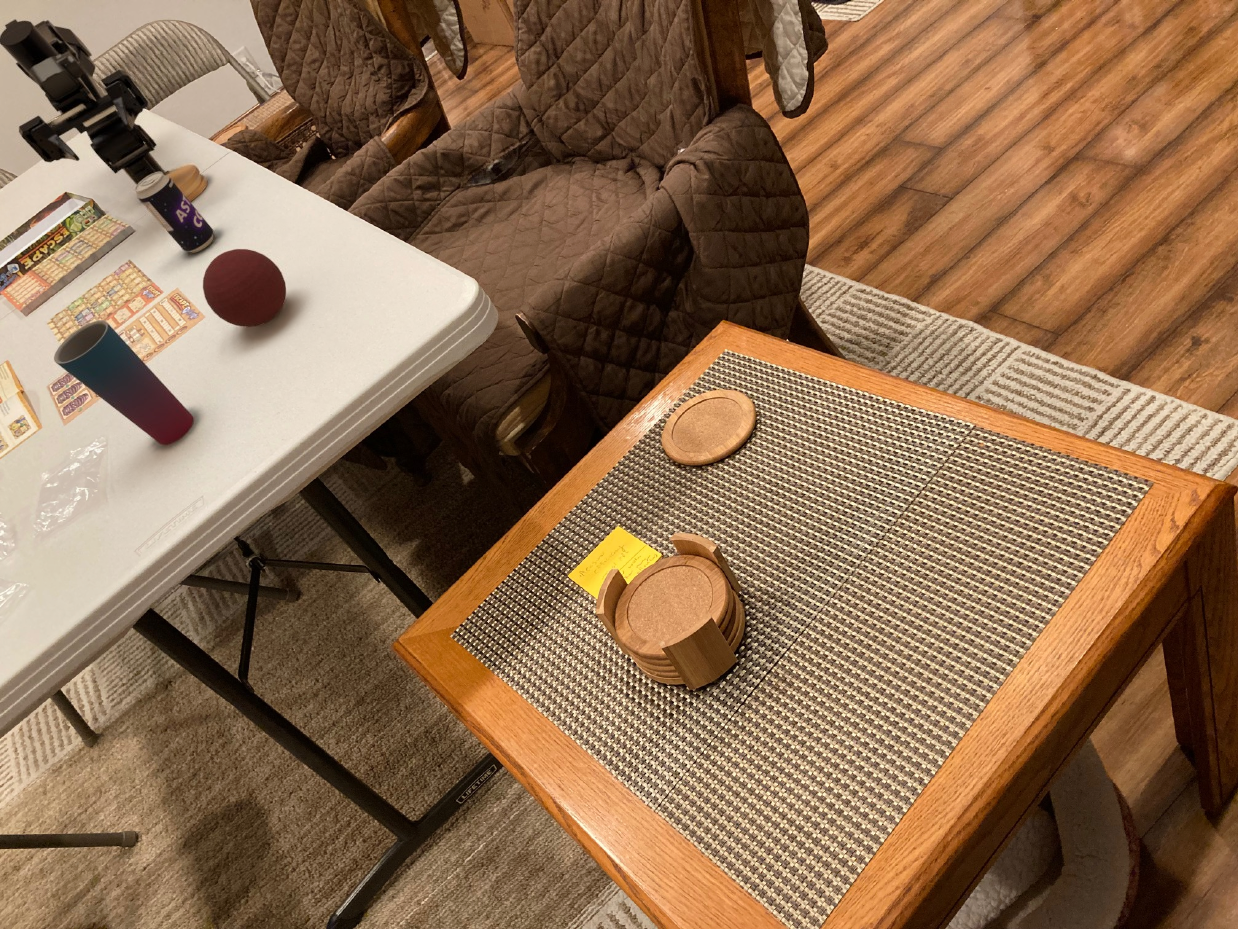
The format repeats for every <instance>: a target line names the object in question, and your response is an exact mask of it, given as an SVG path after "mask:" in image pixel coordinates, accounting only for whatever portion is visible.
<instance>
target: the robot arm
mask: <svg viewBox="0 0 1238 929" xmlns="http://www.w3.org/2000/svg"><path fill="white" fill-rule="evenodd" d="M4 27H5V28H4V30H3V31H2V32H1V34H0V45H1V46H2V47H3V48H4V50H6V52H7V53H8V54H9V55H10V56H11V57H12V58H13V59H14V60H15V61H16V63H15V65H16V66H17V67H18V68H19V69H20V71H21V72H23V74H24V75H26V77H27V78H29V79H30V80H32V82H34V83H35V84H37V85H38V86H39V88H40V89H41V90H42V91H43V92H44V96H45V97H46V98H47V100H48V102H49V104H50V105H51V106H52V107H53V108H54V110H55V111H56V112H57V113H58V112H59V113H60V114H59V115H57V116H56V117H54V118H53V119H50V120H49V121H47V122H46V121H45V120H44V119H43V118H42V117H41V116H40V115H37V116H35V117H33V118H32V119H29V120H28V121H25V123H22V124H21V125H19V126H18V133H19V135H20V137H21V138H22V139H23V140H24V141H25V142H26V143H27V144H28V145H29V146H30V148H32V150H34V151H35V152H36V154H37V155H38V156H39V157H40V158H41V159H42V160H43V161H44V162H45V163H52V162H55V161H56V162H57V161H60V160H72V161H77V162H78V161H81V160H80V156H78V155H77V153H76V152H75V151H74V150H73V149H72V148H71V147H70V146H69V145H68V144H67V143H66V142H65V141H64V140H63V139H62V138H61V136H63V135H64V134H66V133H67V132H70V131H71V130H73V129H76V130H77V131H78V132H79V134H80V135H82V134H83V133H85V132H86V134H87V136H88V138H89V141H90V142H91V143H90V144H89V146H90V147H91V148H92V150H93V152H94V153H95V154H96V156H98V157H99V158H100V160H101V161H102V162H103V163H104V164H105V165H106V166H107V167H108V168H109V169H110V170H111V171H112V172H113V173H114V174H118V173H119V172H120V171H121V170H123V171H124V172H125V173H126V175H127V176H128V177H129V178H130V179H131V181H132V182H133V183H134V184H135V186H136V185H137V184H138V183H139V182H140V181H141V180H143V179H144V178H145V177H147V176H149V175H151V174H153V173H155V172H162V173H163V174H164V175H167V174H169V173H170V172H171V171H170V170H166V171H165V169H164V168H163V167H162V166H161V164H159V162H158V161H157V160H156V159H155V157H154V156H153V155H152V154H151V152H153V151H155V148H156V147H157V143H156V142H155V140H154V139H153V138H152V136H150V134H149V133H148V132H147V131H146V130H145V129H144V128H143V126H141V125H140V124H136V120H137V118H138V117H139V115H140V114H141V113H143V111H144V109H146V108H147V107H148V104H149V101H148V100H147V98H146V97H145V96H144V94H143V93H142V92H141V91H140V89H139V88H138V87H137V85H136V83H135V82H134V81H133V79H131V77H130V75H129V74H128V73H127V72H126V71H125V70H122V69H118V70H116V71H114V72H112V73H110V74H109V75H107V76H105V77H104V78H101V80H100V81H101V83H102V84H103V85H104V86H105V87H104V90H105V92H106V93H107V94H105V95H104V94H103V91H101V89H100V87H99V85H98V84H97V82H96V81H95V78H94V74H95V71H96V68H97V67H96V65H95V63H94V62H93V60H92V56H93V54H92V53H91V51H90V50H89V48H88V47H87V46H86V44H85V43H84V42H83V41H82V40H81V39H80V38H79V37H78V35H76V33H74V32H73V31H72V30H71V29H70V28H67V27H62V26H56V25H55V24H53V23H52V22H51V21H50V20H48V19H47V20H42V21H40V22H37V23H36V24H35V25H34V24H33V22H32V21H29V20H17V19H16V18H14V19H13V20H12V21H9V22H8V23H6V24H4Z"/></svg>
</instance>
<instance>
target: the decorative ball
mask: <svg viewBox="0 0 1238 929" xmlns="http://www.w3.org/2000/svg"><path fill="white" fill-rule="evenodd" d="M202 279H203V280H202V290H203V295H204V299H205V301H206V303H207V305H208V307H209V308H210V309H211V310H212V312H213V313H214V314H215V315H216V316H218V317H219V319H221V320H223V321H225V322H227V323H228V324H231V325H233V326H237V327H244V328H251V327H258V326H259V327H260V326H262V325H264V324H266V323H268V322H271V321H272V320H273V319H274V318H276V316H278V314H279V313H280V312H281V311H282V309H283V306H284V304H285V302H286V296H287V286H286V281H285V278H284V276H283V272H282V271H281V270H280V268H279V266H278V265H277V264H276V263H275V262H274V261H273V260H272V259H271V258H269V257H268V256H266V255H265V254H264V253H261V252H258V251H256V250H252V249H249V248H248V249H247V248H235V249H231V250H227V251H224V252H222V253H220V254H218V255H217V256H216V257H215V258H213V260H212V261H210V263H209V265H208V266H207V268H206V269H205V272H204V275H203V278H202Z"/></svg>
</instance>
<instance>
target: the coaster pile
mask: <svg viewBox="0 0 1238 929" xmlns="http://www.w3.org/2000/svg"><path fill="white" fill-rule="evenodd" d="M166 176H168V177H170V178H171V180H172V181H173V182H174V183H175V184H176V186H177V187H178V188H179V189H180V190H181V192H182V193H183V194H184V195H185V196H186V198H187V199H188V200H189V201H190V202H192V201H194V200H195V199H196V198H197V197H199V196H200V195H201V194H202V193H203V192H204V190H205V189H206V188H207V186H208V179H207V178H206V177H205V176H204V174H202V173H201V171H200V169H199V168H198V167H197V165H195V164H186V165H182V166H180V167H178V168H176V169H174V170H172V171H170V173H169V174H167V175H166Z"/></svg>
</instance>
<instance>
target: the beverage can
mask: <svg viewBox="0 0 1238 929" xmlns="http://www.w3.org/2000/svg"><path fill="white" fill-rule="evenodd" d="M134 192H136V195H137V198H138V200H139V201H140V203H141V204H142V205H143V206H144V207H145V208H146V209H147V210H148V212H149V213H150V214H151V215H152V216H153V217H154V218H155V220H156V221H157V222H158V223H159V224H160V225H161V226H162V228H163V229H164V230H165V231H166V232H167V233H168V234H169V235H170V237H172V239H173V240H174V241H175V242H176V244H177V245H178V246H180V247H179V248H181V249H182V250H183V251H184V252H190V253H198V252H200V251H203V250H204V249H205V248H207V247H208V246H210V244H211V243H212V242H213V240H214V229H213V228H212V226H211V225H210V224H209V223H208V222H207V221H206V219H205V218H204V217H203V215H202V214H201V213H200V212H199V210H198V209H196V207H195V206H194V205H193V203H191V202H192V201H191V202H190V201H189V200H188V199H187V198H186V196H185V195H184V194H183V193H182V192H181V190H180V189H179V188H178V187H177V186H176V184H175V183H174V182H173V181H172V180H171V178H170V177H168V176H166V175H164V174H163V173H162V172H155V173H153V174H151V175H149V176H147V177H145V178H144V179H143V180H141V181H140V182H139V183H138V184H137V185H136V184H135V186H134Z"/></svg>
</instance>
